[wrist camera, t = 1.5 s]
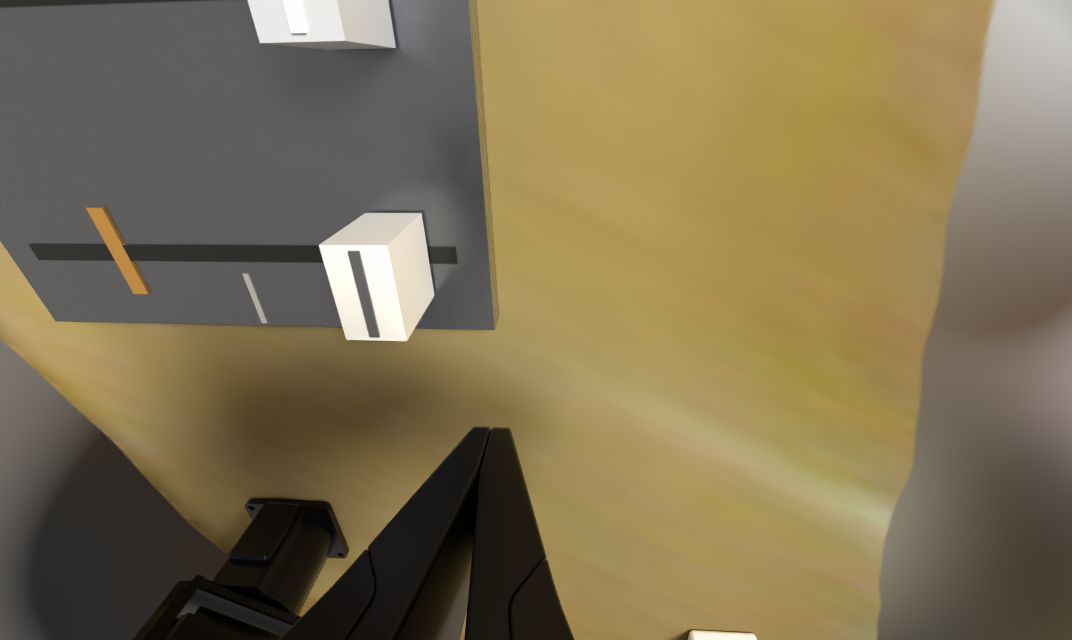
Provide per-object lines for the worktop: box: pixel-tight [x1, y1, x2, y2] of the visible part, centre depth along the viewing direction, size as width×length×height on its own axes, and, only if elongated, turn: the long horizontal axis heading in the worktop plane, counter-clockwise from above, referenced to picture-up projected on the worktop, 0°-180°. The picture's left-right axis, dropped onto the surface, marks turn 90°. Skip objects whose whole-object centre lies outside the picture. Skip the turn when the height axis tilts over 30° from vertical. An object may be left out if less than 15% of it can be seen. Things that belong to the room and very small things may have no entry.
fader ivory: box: [319, 213, 434, 341], centre depth 18 cm, size 4×2×4 cm, turn 1°
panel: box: [0, 0, 499, 330], centre depth 18 cm, size 18×24×2 cm
